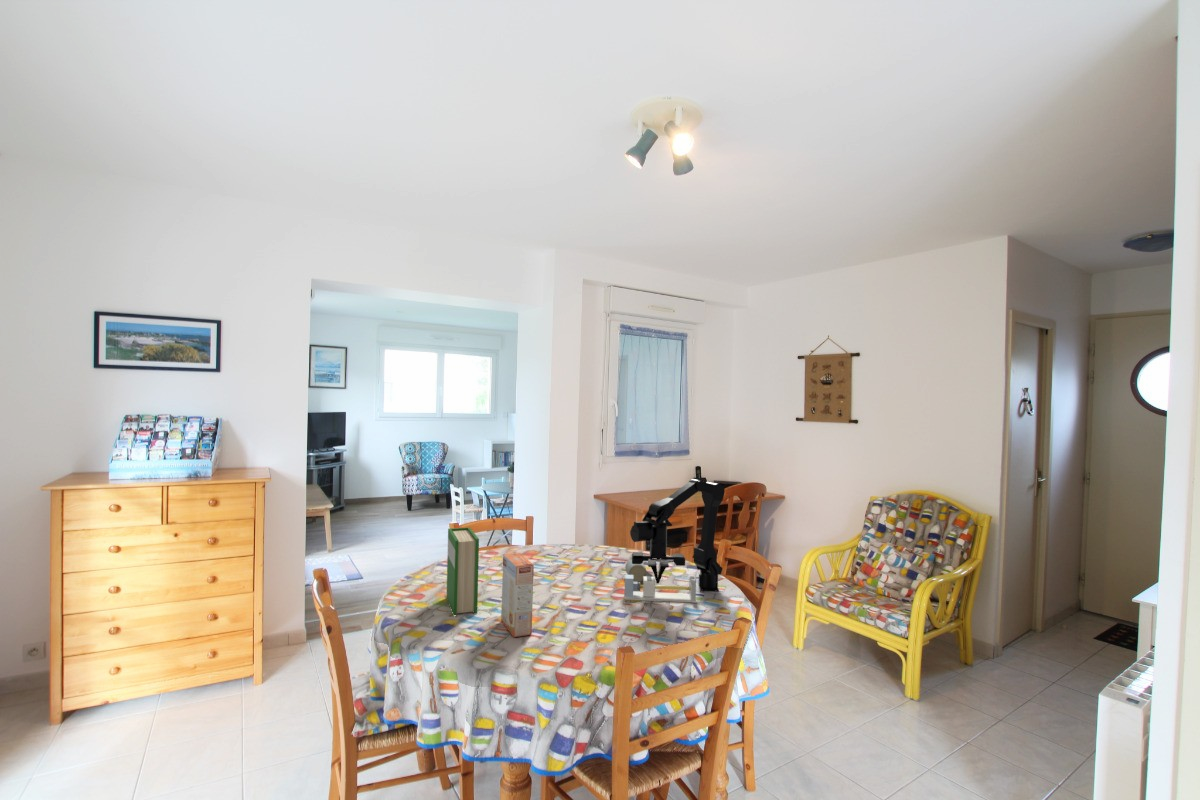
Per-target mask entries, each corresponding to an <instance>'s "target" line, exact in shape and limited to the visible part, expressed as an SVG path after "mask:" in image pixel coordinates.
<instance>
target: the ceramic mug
mask: <svg viewBox="0 0 1200 800" xmlns="http://www.w3.org/2000/svg"><path fill="white" fill-rule="evenodd" d="M624 569H625V572H626V575H633V582H640V583H641V582H643V576H649V577H654V574H653V573H650V571H647V568H646V567H645V564H644V562H643V563H642V564H632V557H631V558H630V559H628V560H627V561H626V563H625V567H624Z"/></svg>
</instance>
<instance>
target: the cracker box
mask: <svg viewBox="0 0 1200 800" xmlns="http://www.w3.org/2000/svg"><path fill="white" fill-rule="evenodd" d="M534 565H535V564H534V563H533V562H532V561H530V560H529V559H527V558H526V557H525V556H524V555H523V554H522V553H520V552H515V553H513V552H512V553H506V554H502V583H501V584H502V587H501V614H500V615H501V618H500V620H501V622H502V624H503V625H504V626H505V628H506V629H507V631H508V632H509V633H510V635H511V636H512V637H513V638H519V637H525V636H532V634H533V633H532V631H533V604H534V603H533V601H534V599H533V598H534V597H533V596H534V567H535V566H534Z"/></svg>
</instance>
